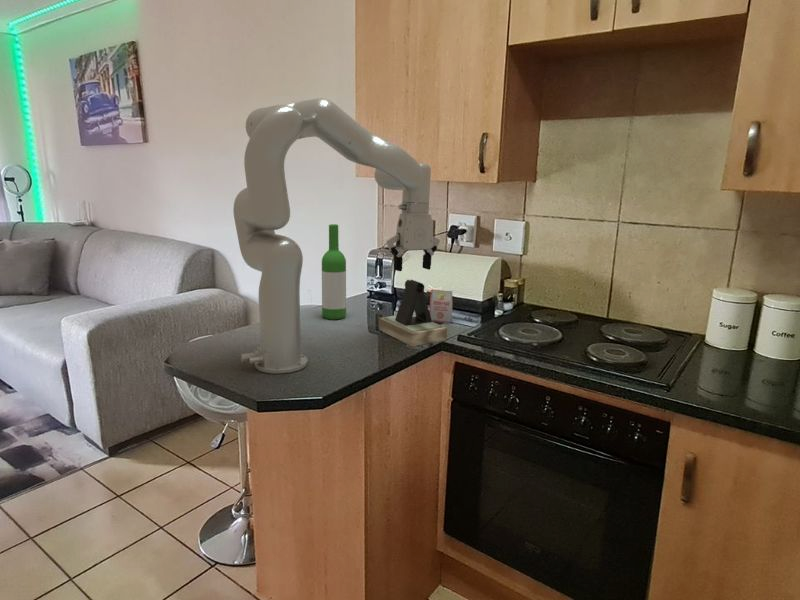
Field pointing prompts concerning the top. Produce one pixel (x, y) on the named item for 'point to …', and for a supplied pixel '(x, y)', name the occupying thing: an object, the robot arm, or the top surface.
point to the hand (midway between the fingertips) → (412, 269)
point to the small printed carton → (441, 305)
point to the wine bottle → (333, 279)
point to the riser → (413, 331)
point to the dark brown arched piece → (413, 305)
